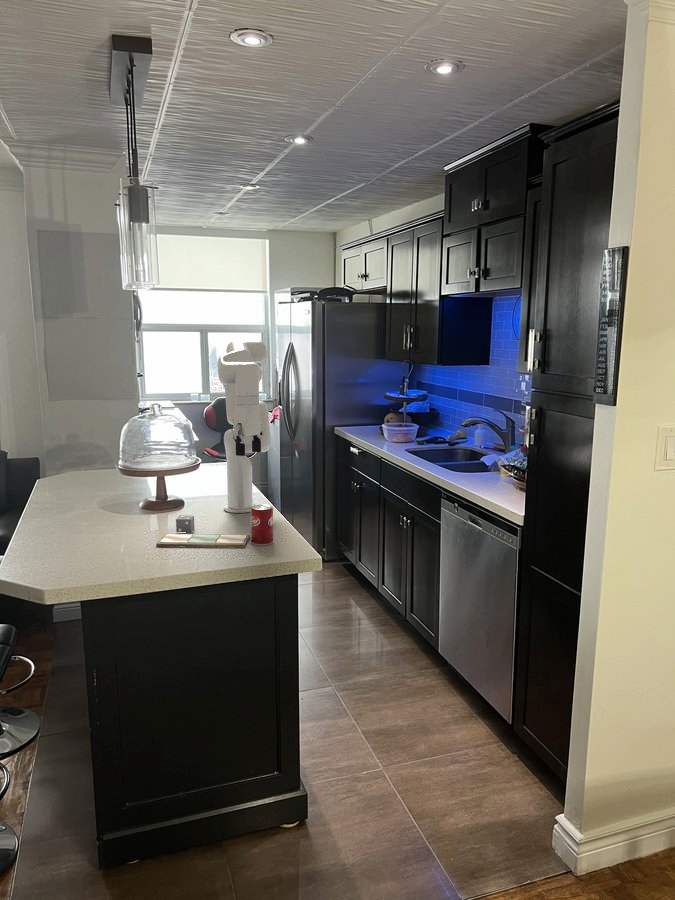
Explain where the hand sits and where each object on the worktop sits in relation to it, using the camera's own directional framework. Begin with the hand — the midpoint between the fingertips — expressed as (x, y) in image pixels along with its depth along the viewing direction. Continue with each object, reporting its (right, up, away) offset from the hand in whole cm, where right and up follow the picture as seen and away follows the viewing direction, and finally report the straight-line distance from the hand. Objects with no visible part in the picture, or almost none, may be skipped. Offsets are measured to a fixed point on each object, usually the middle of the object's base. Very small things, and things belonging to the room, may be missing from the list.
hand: (248, 453), depth 218 cm
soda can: (+5, -29, -1) cm, 29 cm away
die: (-23, -27, +11) cm, 37 cm away
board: (-14, -29, -1) cm, 32 cm away
